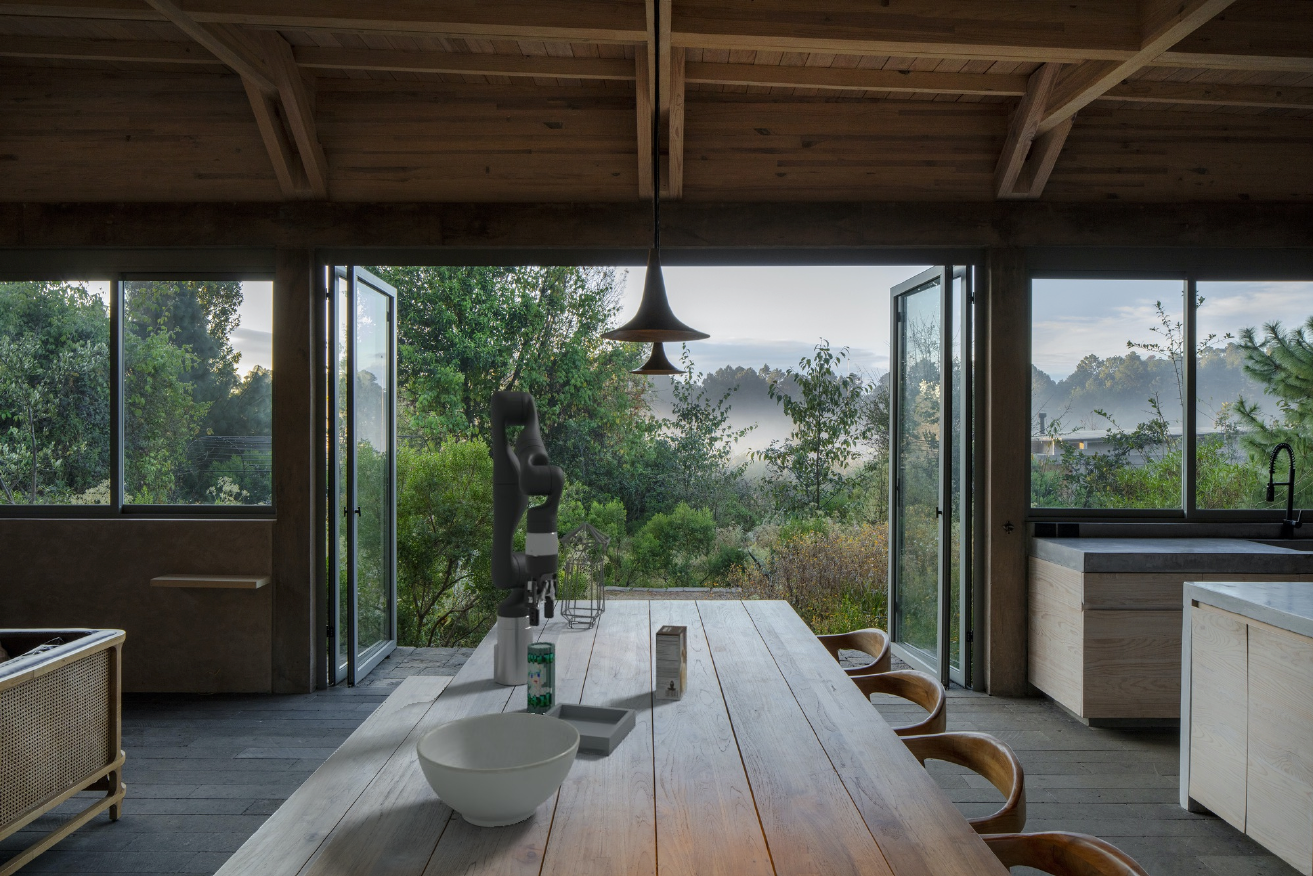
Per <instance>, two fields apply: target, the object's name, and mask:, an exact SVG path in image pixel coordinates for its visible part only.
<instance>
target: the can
mask: <svg viewBox="0 0 1313 876" xmlns="http://www.w3.org/2000/svg"><path fill="white" fill-rule="evenodd" d="M526 689H527V691H526V698H527V699H526V700H527V701H526V703H527V704H526V708H527V709H526V711H527V712H528V711H529V712H528V713H535V714H540V715H541V714H543V713H546V712H548V711H549V710H550V709H551V708H553V707H554V706H555V705H556V644H555V643H553V642H550V641H549V642H548V641H543V642H542V641H539V642H538V641H537V642H533V643H531V644H529V645H528V646H527V683H526ZM543 715H544V714H543Z"/></svg>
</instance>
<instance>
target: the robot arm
mask: <svg viewBox="0 0 1313 876" xmlns="http://www.w3.org/2000/svg"><path fill="white" fill-rule="evenodd" d="M490 399H491V400H490V421H491V434H492V451H493V452H492V454H493V455H492V456H493V457H492V460H493V462H492V504H493V506H492V507H493V516H492V517H493V524H492V525H493V526H492V527H493V528H492V530H493V531H492V543H491V556H490V577H491V581H492V584H493V586H494V587H495V588H496V589H497V590H500V591H506V590H507V591H508V590H511V593H510V594H509V595H508V596H507V597H506V598H504V599H503V600H501V601H500V602H499V603H498V604H497V607H496V610H497V611H496V615H497V616H496V643H495V644H494V645H493V683H497V684H500V685H505V686H520V685H521V686H522V685H527V646H528V645H529V644H531V643H534V627H538V626H539V625H541V624H540V621H541V620H540V606H541V603H542V602H543V601H544V602H543V608H544V609H543V617H544V618H545V619H553V618H554V617H555V602H556V599H558V598H559V574H558V571H559V539H558V511H559V505H560V501H561V498H562V494H563V491H564V488H565V484H566V478H565V473H564V471H563V469H562V468H561V467H560V466H558V465H549V463H550V457H549V455H548V452H547V449H546V447H545V444H544V442H543V439H542V435H541V429H540V421H539V417H538V412H537V411H538V410H537V406H536V402H535V401H536V400H535V399H534V397H533V395H532V394H531V393H530V392H529V391H524V390H496V391H494V392H493V393H492V395H491V398H490ZM506 427H523V428H522V430H521V431H520V433H519V434H518V436H517V438H516V440H515V443H514V450H515V451H514V450H513V448H512V446H511V444H510V442H509V438H508V435H507V429H506ZM543 496H544V497H546V499H545V501H544V502H543V503H542V504H538V505H535V506H532V507H530V508H528V509H527V507H528V504H529V502H530V501H529V500H530V499H529V497H543ZM526 510H527V511H526ZM525 512H526V537H525V548H524V550H525V551H515V552H513V547H514V546H513V545H514V538H515V533H516V530H517V528H518V526H519V523H520V522H521V520H522V518H523V516H524V514H525Z"/></svg>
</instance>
